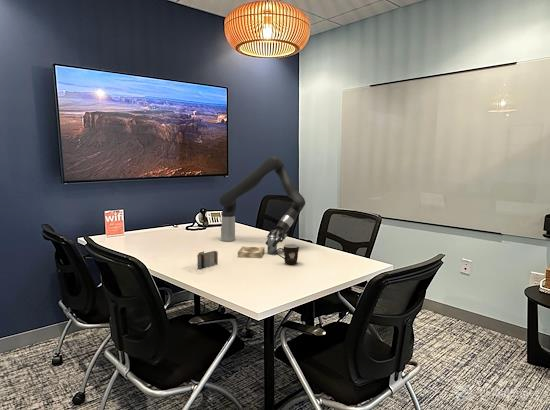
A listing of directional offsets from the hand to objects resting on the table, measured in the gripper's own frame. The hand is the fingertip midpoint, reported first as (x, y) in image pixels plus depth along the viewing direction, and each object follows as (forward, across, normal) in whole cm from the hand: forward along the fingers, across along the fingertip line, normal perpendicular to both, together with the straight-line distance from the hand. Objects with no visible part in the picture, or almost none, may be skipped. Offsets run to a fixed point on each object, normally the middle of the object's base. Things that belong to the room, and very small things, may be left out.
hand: (269, 245), depth 222 cm
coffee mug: (+7, +22, +1) cm, 23 cm away
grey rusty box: (+34, 0, -26) cm, 43 cm away
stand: (+10, -6, -3) cm, 12 cm away
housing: (+2, 0, +5) cm, 6 cm away
